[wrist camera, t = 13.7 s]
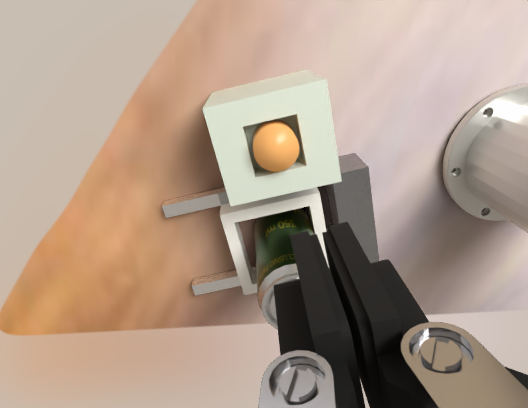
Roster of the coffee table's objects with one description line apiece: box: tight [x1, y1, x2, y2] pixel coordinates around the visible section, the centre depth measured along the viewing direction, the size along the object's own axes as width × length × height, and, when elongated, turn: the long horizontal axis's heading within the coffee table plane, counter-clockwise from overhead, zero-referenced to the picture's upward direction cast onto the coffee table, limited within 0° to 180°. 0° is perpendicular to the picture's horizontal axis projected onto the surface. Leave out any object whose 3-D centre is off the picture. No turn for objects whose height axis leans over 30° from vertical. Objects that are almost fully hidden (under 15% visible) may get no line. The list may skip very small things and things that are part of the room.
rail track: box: [162, 153, 379, 296], centre depth 34 cm, size 18×11×4 cm, turn 103°
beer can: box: [254, 208, 314, 329], centre depth 31 cm, size 5×5×12 cm
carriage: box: [218, 187, 329, 295], centre depth 34 cm, size 8×11×2 cm
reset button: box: [252, 119, 299, 172], centre depth 25 cm, size 3×3×2 cm
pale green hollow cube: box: [202, 69, 342, 206], centre depth 29 cm, size 8×8×8 cm
